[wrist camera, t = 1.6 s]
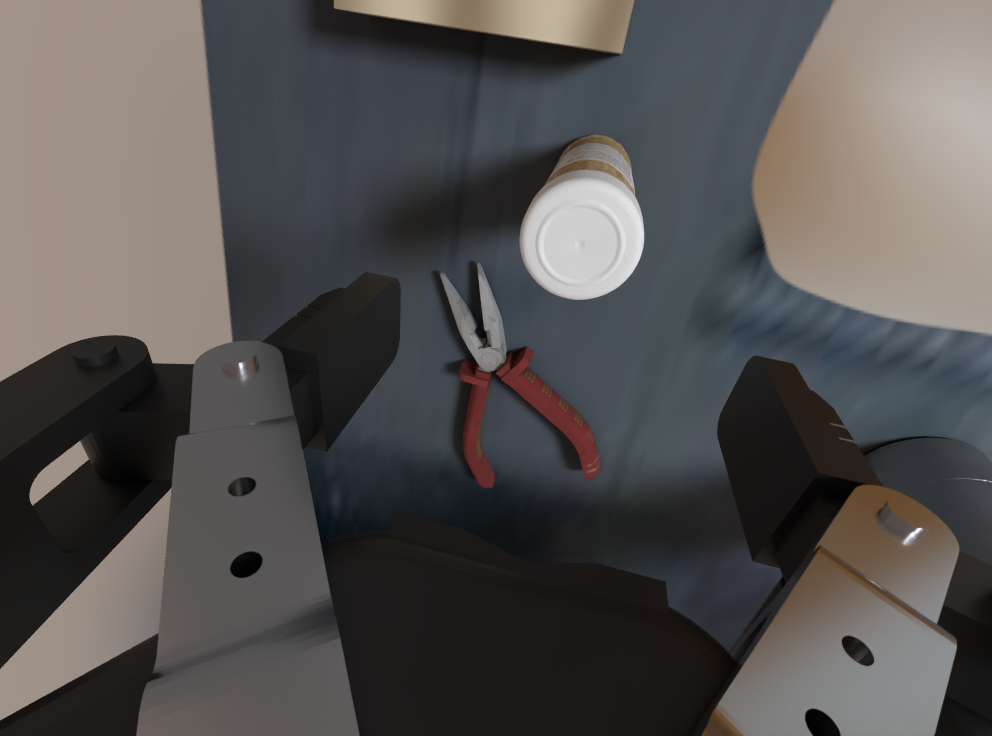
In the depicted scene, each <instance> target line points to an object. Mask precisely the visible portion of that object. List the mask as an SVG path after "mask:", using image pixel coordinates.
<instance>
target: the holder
mask: <svg viewBox="0 0 992 736" xmlns="http://www.w3.org/2000/svg"><path fill="white" fill-rule="evenodd" d="M633 4H634V0H334V8H335V9H340V10H345V11H350V12H355V13H360V14H365V15H370V16H376V17H383V18H389V19H396V20H402V21H408V22H415V23H421V24H427V25H434V26H440V27H447V28H453V29H459V30H466V31H472V32H478V33H485V34H491V35H498V36H504V37H510V38H517V39H523V40H529V41H536V42H542V43H549V44H555V45H561V46H568V47H574V48H580V49H587V50H593V51H600V52H606V53H612V54H619V55H621V54H622V51H623V46H624V42H625V38H626V34H627V29H628V25H629V21H630V17H631V12H632V8H633Z"/></svg>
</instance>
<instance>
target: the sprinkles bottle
mask: <svg viewBox="0 0 992 736" xmlns="http://www.w3.org/2000/svg"><path fill="white" fill-rule="evenodd" d="M519 240H520V251H521V256H522V259H523V262H524V264H525V266H526V268H527V270H528V272H529V273H530V275H531V276H532V277H533V279H534V280H535V281H536V282H537V283H538V284H539V285H540V286H542V287H543V288H544V289H546V290H547V291H549V292H551V293H553V294H555V295H557V296H560V297H564V298H567V299H574V300H583V299H591V298H596V297H599V296H602V295H605V294H607V293H609V292H611V291H612V290H614V289H616V288H617V287H619V286H620V285H621V284H622V283H623V282H625V281H626V279H627V278H628V277H629V276H630V275H631V274H632V272H633V271H634V269H635V267H636V266H637V264H638V261H639V259H640V257H641V253H642V250H643V244H644V227H643V219H642V214H641V210H640V207H639V204H638V202H637V200H636V198H635V191H634V183H633V178H632V171H631V163H630V160H629V157H628V155H627V153H626V152H625V150H624V149H623V147H622V146H621V144H619V143H618V142H616V141H615V140H613V139H612V138H609V137H607V136H604V135H589V136H585V137H582V138H580V139H578V140H576V141H574V142H573V143H572V144H570V145H569V146H568V147H567V148H566V149H565V150H564V152H563V153H562V155H561V156H560V158H559V161H558V163H557V165H556V167H555V168H554V170H553V172H552V174H551V175H550V177H549V179H548V180H547V182H546V184H545V185H544V187H543V188H542V189H541V190H540V191H539V192H538V193H537V195H536V196H535V197H534V199H533V200H532V202H531V204H530V206H529V207H528V210H527V212H526V214H525V216H524V219H523V222H522V225H521V230H520V239H519Z"/></svg>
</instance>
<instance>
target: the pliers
mask: <svg viewBox="0 0 992 736" xmlns="http://www.w3.org/2000/svg"><path fill="white" fill-rule="evenodd" d="M477 269H478V278H479V287H480V296H481V306H482V315H483V322H484V329H485V331H486V333H487V338H481V337H479V336H477V335H476V333H475V329H476V327H477V325H478V323H477V321H476V319H475V318H474V316H473V314H472V313H471V311H470V309H469V308H468V307H467V305H466V304H465V302H464V301H463V300H462V298H461V297H460V295H459V294H458V293H457V291H456V290H455V288H454V287H453V286H452V284H451V283H450V281H449V280H448V279H447V277H446V276H445V274H444V273H443V272H440V276H441V279H442V282H443V285H444V288H445V291H446V294H447V297H448V300H449V303H450V306H451V309H452V312H453V315H454V318H455V320H456V323H457V326H458V329H459V332H460V334H461V336H462V338H463V340H464V341H465V343H466V345H467V347H468V349H469V350H470V352H471V353H472V355H473V357H474V358H475V360H476V361H477V362H475V361H471V360H467V359H465V360H464V361H463V363H462V365H461V367H460V370H459V379H460V380H462V381H464V382H467V383H471V384H472V387H471V393H470V398H469V404H468V409H467V414H466V420H465V425H464V430H463V452H464V456H465V459H466V461H467V463H468V465H469V467H470V469H471V471H472V473H473V475H474V476H475V478H476V480H477V482H478V483H479V485H480V486H482V487H484V488H492V486H493V484H494V480H495V475H494V473H493V471H492V469H491V467H490V464H489V462H488V460H487V458H486V456H485V454H484V452H483V449H482V446H481V441H480V431H481V425H482V421H483V416H484V411H485V407H486V402H487V398H488V393H489V388H490V384H491V379H492V375H493V371H495V370H497V371H496V374H497V375H498V376H499V377H500V378H501V380H502V381H503V382H505V383H506V384H508V385H509V386H511V387H512V388H513V389H514V390H515V391H516V392H517V393H519V394H520V395H521V396H522V397H523V398H524V399H525V400H527V401H528V402H529V403H530V404H531V405H532V406H533V407H535V408H536V409H537V410H538V411H539V412H540V413H541V414H543V415H544V416H545V417H546V418H547V419H548V420H549V421H551V422H552V423H553V424H554V425H555V426H556V427H557V428H559V429H560V430H561V431H562V432H563V433H564V434H565V435H566V436H567V437H568V438H569V439H570V441H571V442H572V443H573V445H574V446H575V448H576V450H577V452H578V454H579V457H580V461H581V465H582V469H583V472H584V476H585V478H586V479H592V478H594V477H596V476H597V474H598V472H599V470H600V460H599V456H598V451H597V447H596V443H595V438H594V434H593V432H592V430H591V429H590V427H589V425H588V424H587V422H586V421H585V420H584V419H583V417H582V416H581V415H580V414H579V413H578V412H577V411H576V410H575V409H574V408H573V407H572V406H571V405H570V404H568V403H567V402H566V401H565V400H564V399H563V398H562V397H561V396H559V395H558V394H557V393H556V392H555V391H554V390H553V389H552V388H551V387H549V386H548V385H547V384H546V383H545V382H544V381H543V380H542V379H541V378H539V377H538V376H537V375H536V374H535V373H534V372H533V371H532V370H531V369H529V368H528V367H527V366H528V365H529V363H530V361H531V358H532V354H533V351H532V350H530V349H529V348H528V347H526V348H525V349H523V350H522V351H521V352H520V353H519V354H517V355H515V354H514V353H513V352H512V351H510V352H509V353H508V354H507V355H506V353H507V349H506V343H505V336H504V329H503V323H502V318H501V314H500V312H499V309H498V307H497V304H496V302H495V299H494V297H493V294H492V292H491V289H490V287H489V284H488V282H487V279H486V277H485V274H484V271H483V269H482V266H481V264H480V262H478V263H477Z"/></svg>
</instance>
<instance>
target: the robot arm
mask: <svg viewBox="0 0 992 736" xmlns="http://www.w3.org/2000/svg"><path fill="white" fill-rule="evenodd" d="M400 295H401V289H400V283H399V280H398V279H396V278H392V277H387V276H382V275H378V274H373V273H368V272H365V273H364V274H362V275H361V276H360V277H359V278H358V279H356V280H355V281H354V282H353V283H352V284H350V285H349V286H348V287H347V288H346V289H345V288H338V289H335V290H333V291H330V292H327V293H324V294H322V295H320V296H319V297H318V298H316V299H315V300H314V301H312V302H311V303H310V304H309V305H308V307H307V308H306V307H305V308H304V309H302V310H301V311H300V312H299V313H297V316H294V317H292V318H291V319H290V320H289V321H287V322H286V323H285V324H284V325H282V326H281V327H280V328H279V329H277V330H276V331H275V332H274V333H272V334H271V335H270V336H269V337H267V338H266V339H265V340H264V341H262V342H257V341H238V342H231V343H227V344H223V345H220V346H217V347H215V348H212V349H210V350H208V351H206V352H205V353H203V354H202V355H201V356H200V357H199V358H198V359H197V360H196V362H195V364H155V363H152V360H151V357H150V354H149V352H148V349H147V346H146V345H145V343H144V342H142V341H141V340H139V339H136V338H133V337H127V336H117V335H114V336H99V337H94V338H88V339H84V340H80V341H77V342H74V343H71V344H68V345H66V346H64V347H62V348H60V349H58V350H56V351H54V352H52V353H51V354H49V355H47V356H45V357H43V358H42V359H40V360H38V361H36V362H34V363H33V364H31V365H29V366H27V367H26V368H24V369H22V370H20V371H18V372H17V373H15V374H13V375H12V376H10V377H8V378H6V379H4V380H3V381H1V382H0V669H1V667H2V666H3V665H4V664H5V663H6V662H7V661H8V660H9V659H10V658H11V657H12V656H13V655H14V654H15V653H16V652H17V650H18V649H19V648H20V647H21V646H22V645H23V644H24V643H25V642H26V641H27V640H28V639H29V638H30V637H31V636H32V635H33V634H34V633H35V631H36V630H37V629H38V628H39V627H40V626H41V625H42V624H43V623H44V622H45V621H46V620H47V619H48V618H49V617H50V616H51V615H52V613H53V612H54V611H55V610H56V609H57V608H58V607H59V606H60V605H61V604H62V603H63V602H64V601H65V600H66V599H67V597H69V595H70V594H71V593H72V592H73V591H74V590H75V589H76V588H77V587H78V586H79V585H80V584H81V583H82V582H83V581H84V580H85V579H86V577H87V576H88V575H89V574H90V573H91V572H92V571H93V570H94V569H95V568H96V567H97V566H98V565H99V564H100V563H101V562H102V561H103V559H104V558H105V557H106V556H107V555H108V554H109V553H110V552H111V551H112V550H113V549H114V548H115V547H116V546H117V545H118V544H119V543H120V541H121V540H122V539H123V538H124V537H125V536H126V535H127V534H128V533H129V532H130V531H131V530H132V529H133V528H134V527H135V526H136V525H137V523H138V522H139V521H140V520H141V519H142V518H143V517H144V516H145V515H146V514H147V513H148V512H149V511H150V510H151V509H152V508H153V507H154V505H155V504H156V503H157V502H158V501H159V500H160V499H161V498H162V497H163V496H164V495H165V494H166V493H167V492H168V491H169V490H170V489H171V487H172V490H171V501H170V512H169V523H168V534H167V546H166V557H165V568H164V580H163V591H162V602H161V614H160V625H159V633H158V634H156V635H155V636H152V637H151V638H149V639H147V640H145V641H143V642H142V643H140V644H138V645H136V646H134V647H132V648H131V649H129V650H127V651H125V652H123V653H122V654H120V655H118V656H116V657H114V658H113V659H111V660H109V661H107V662H105V663H104V664H102V665H100V666H98V667H96V668H94V669H93V670H91V671H89V672H87V673H85V674H84V675H82V676H80V677H78V678H77V679H75V680H73V681H71V682H69V683H67V684H66V685H64V686H62V687H60V688H58V689H57V690H55V691H53V692H51V693H49V694H47V695H46V696H44V697H42V698H40V699H38V700H37V701H35V702H33V703H31V704H29V705H28V706H26V707H24V708H22V709H20V710H19V711H17V712H15V713H13V714H11V715H9V716H8V717H6V718H4V719H2V720H0V736H992V462H991V461H990V460H989V459H988V458H987V457H986V456H985V455H984V454H983V453H981V452H980V451H979V450H977V449H976V448H974V447H972V446H970V445H967V444H965V443H963V442H959V441H955V440H950V439H942V438H918V439H910V440H905V441H900V442H895V443H892V444H889V445H886V446H883V447H881V448H878V449H876V450H874V451H872V452H870V453H868V454H867V455H865V456H864V455H863V454H862V452H861V451H860V449H859V447H858V446H857V444H855V443H853V438H852V436H851V435H850V433H849V432H848V430H847V429H845V428H844V424H843V422H842V421H841V419H840V418H839V416H838V415H837V413H836V411H835V410H834V408H833V407H832V406H830V405H829V404H828V403H827V402H826V401H825V400H823V399H822V398H821V397H820V396H819V395H818V394H816V393H815V392H814V391H812V390H810V389H809V387H808V386H807V384H806V382H805V381H804V379H803V377H802V376H801V374H800V372H799V371H798V369H797V367H796V366H795V365H794V364H793V363H789V362H784V361H779V360H775V359H770V358H765V357H761V356H753V357H752V358H751V359H750V360H749V361H748V362H747V364H746V365H745V367H744V369H743V371H742V373H741V375H740V377H739V379H738V381H737V383H736V384H735V386H734V388H733V390H732V392H731V394H730V396H729V398H728V400H727V402H726V404H725V406H724V408H723V410H722V412H721V414H720V417H719V421H718V428H717V435H718V440H719V444H720V447H721V451H722V454H723V458H724V462H725V465H726V469H727V472H728V476H729V479H730V483H731V486H732V490H733V494H734V497H735V501H736V504H737V508H738V511H739V515H740V518H741V522H742V526H743V529H744V533H745V536H746V540H747V543H748V547H749V550H750V554H751V558H752V561H753V562H757V563H761V564H765V565H769V566H773V567H777V568H780V570H781V573H782V577H781V579H780V580H779V581H778V582H777V583H776V585H775V586H774V587H773V588H772V590H771V591H770V593H769V594H768V596H767V597H766V598H765V600H764V601H763V603H762V604H761V606H760V607H759V608H758V610H757V611H756V613H755V614H754V616H753V617H752V618H751V620H750V621H749V623H748V624H747V625H746V627H745V628H744V630H743V631H742V633H741V634H740V635H739V637H738V638H737V640H736V641H735V643H734V644H733V645H732V647H731V648H730V650H729V651H728V652H727V651H726V650H725V648H724V647H722V646H721V645H720V644H719V643H718V642H717V641H716V640H715V639H714V638H713V637H712V636H711V635H709V634H708V633H707V632H706V631H705V630H703V629H702V628H701V627H699V626H698V625H697V624H696V623H694V622H693V621H692V620H690V619H688V618H687V617H685V616H684V615H682V614H681V613H679V612H678V611H676V610H674V609H672V608H670V607H669V606H668V598H667V589H666V582H665V581H661V580H657V579H653V578H650V577H646V576H642V575H638V574H634V573H631V572H627V571H623V570H619V569H615V568H612V567H608V566H604V565H600V564H588V563H549V562H528V561H524V560H522V559H519V558H517V557H515V556H513V555H512V554H510V553H508V552H506V551H504V550H502V549H500V548H498V547H496V546H494V545H493V544H491V543H489V542H487V541H485V540H483V539H481V538H479V537H477V536H476V535H474V534H472V533H470V532H468V531H466V530H464V529H462V528H459V527H455V526H452V525H448V524H444V523H440V522H436V521H433V520H429V519H425V518H421V517H417V516H414V515H410V514H406V513H402V512H398V514H397V516H396V518H395V520H394V522H393V524H392V526H391V528H390V530H389V531H375V532H364V533H359V534H353V535H348V536H345V537H341V538H338V539H335V540H331V541H329V542H326V543H324V544H322V545H321V543H320V538H319V532H318V527H317V522H316V517H315V512H314V507H313V502H312V497H311V491H310V486H309V481H308V476H307V471H306V466H305V461H304V455H303V450H304V448H305V447H306V446H307V447H310V448H314V449H318V450H322V451H326V452H327V451H328V449H329V448H330V447H331V445H332V444H333V443H334V441H335V440H336V438H337V437H338V436H339V434H340V433H341V432H342V430H343V429H344V428H345V426H346V425H347V423H348V422H349V421H350V419H351V418H352V417H353V415H354V414H355V413H356V411H357V410H358V409H359V407H360V406H361V404H362V403H363V402H364V400H365V399H366V398H367V396H368V395H369V394H370V392H371V391H372V389H373V388H374V387H375V385H376V384H377V383H378V381H379V380H380V379H381V377H382V376H383V374H384V373H385V372H386V370H387V369H388V368H389V366H390V365H391V364H392V362H393V360H394V359H395V356H396V354H397V350H398V346H399V340H400ZM79 441H81V443H82V446H83V448H84V450H85V452H86V454H87V456H88V458H89V460H88V461H87V462H85V463H84V464H83V465H82V466H81V467H79V468H78V469H77V470H76V471H74V472H73V473H72V474H71V475H70V476H68V477H67V478H66V479H65V480H64V481H62V482H61V483H60V484H59V485H57V486H56V487H55V488H54V489H52V490H51V491H50V492H49V493H48V494H46V495H45V496H44V497H43V498H42V499H40V500H39V501H38V502H37V503H35V504H34V505H33V506H32V504H31V502H30V498H29V493H30V488H31V486H32V483H33V481H34V479H35V478H36V477H37V475H38V474H39V473H40V472H41V471H42V470H43V469H44V468H45V467H46V466H47V465H49V464H50V463H51V462H52V461H54V460H55V459H57V458H58V457H59V456H61V455H62V454H63V453H64V452H66V451H67V450H68V449H70V448H71V447H72V446H74V445H75V444H76V443H77V442H79Z"/></svg>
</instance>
